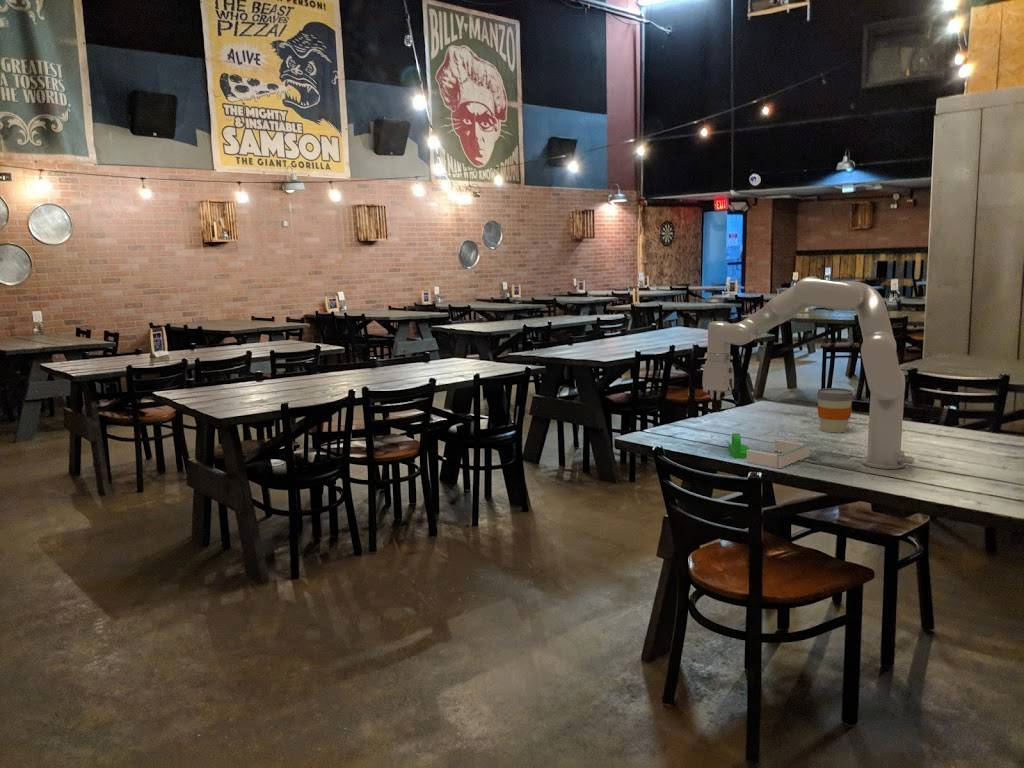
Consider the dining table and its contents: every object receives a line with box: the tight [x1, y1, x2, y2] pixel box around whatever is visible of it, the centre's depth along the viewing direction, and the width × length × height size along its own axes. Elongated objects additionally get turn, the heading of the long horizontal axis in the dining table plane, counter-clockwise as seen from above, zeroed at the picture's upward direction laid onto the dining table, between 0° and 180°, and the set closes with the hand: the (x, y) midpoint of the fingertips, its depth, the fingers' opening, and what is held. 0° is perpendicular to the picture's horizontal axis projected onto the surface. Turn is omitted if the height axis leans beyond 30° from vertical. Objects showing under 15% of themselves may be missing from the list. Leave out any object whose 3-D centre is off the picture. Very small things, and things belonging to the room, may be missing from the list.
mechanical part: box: [727, 432, 751, 459], centre depth 266 cm, size 12×6×8 cm, turn 174°
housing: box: [746, 439, 811, 469], centre depth 257 cm, size 12×19×4 cm, turn 134°
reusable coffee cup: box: [816, 387, 854, 433], centre depth 294 cm, size 13×12×15 cm
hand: (716, 410), depth 272 cm, fingers closed
